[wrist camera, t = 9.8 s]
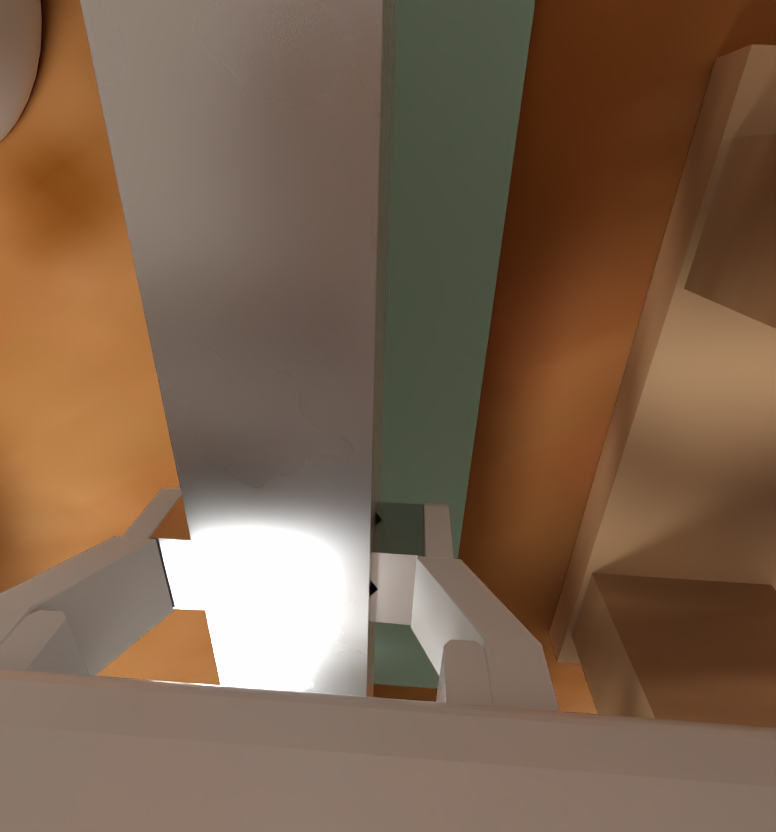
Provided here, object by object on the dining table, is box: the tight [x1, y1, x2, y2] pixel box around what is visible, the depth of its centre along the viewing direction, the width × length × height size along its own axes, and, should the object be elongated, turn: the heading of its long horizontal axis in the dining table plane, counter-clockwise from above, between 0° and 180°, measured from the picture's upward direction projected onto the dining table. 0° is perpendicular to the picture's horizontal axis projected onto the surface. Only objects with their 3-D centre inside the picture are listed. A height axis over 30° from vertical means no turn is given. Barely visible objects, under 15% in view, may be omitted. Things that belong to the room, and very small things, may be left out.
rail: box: [80, 0, 398, 697], centre depth 10 cm, size 22×3×3 cm, turn 178°
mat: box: [374, 0, 535, 689], centre depth 14 cm, size 24×8×1 cm, turn 178°
